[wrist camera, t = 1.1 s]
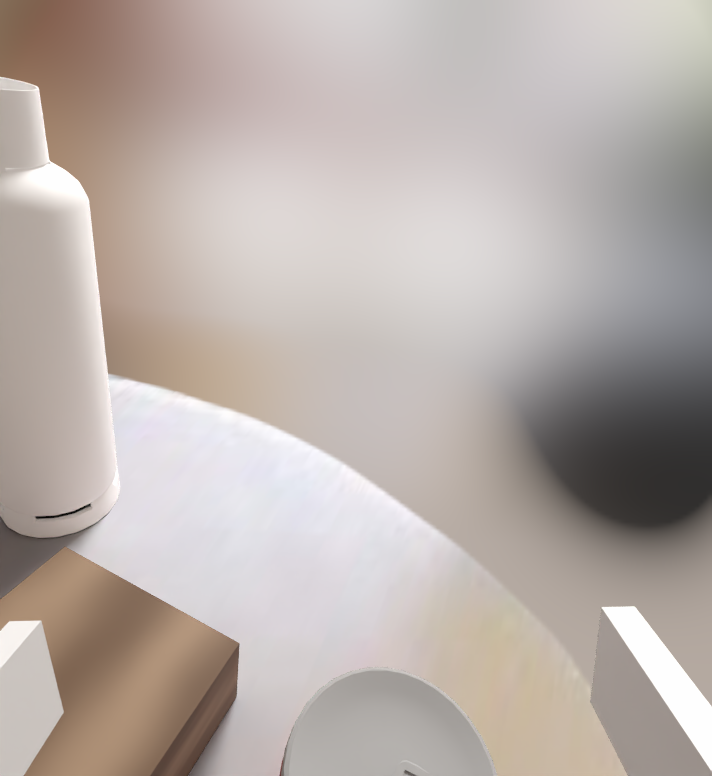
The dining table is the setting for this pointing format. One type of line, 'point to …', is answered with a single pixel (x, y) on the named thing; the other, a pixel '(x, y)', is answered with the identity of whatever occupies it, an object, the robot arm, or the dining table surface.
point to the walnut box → (123, 673)
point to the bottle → (49, 337)
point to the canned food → (384, 730)
